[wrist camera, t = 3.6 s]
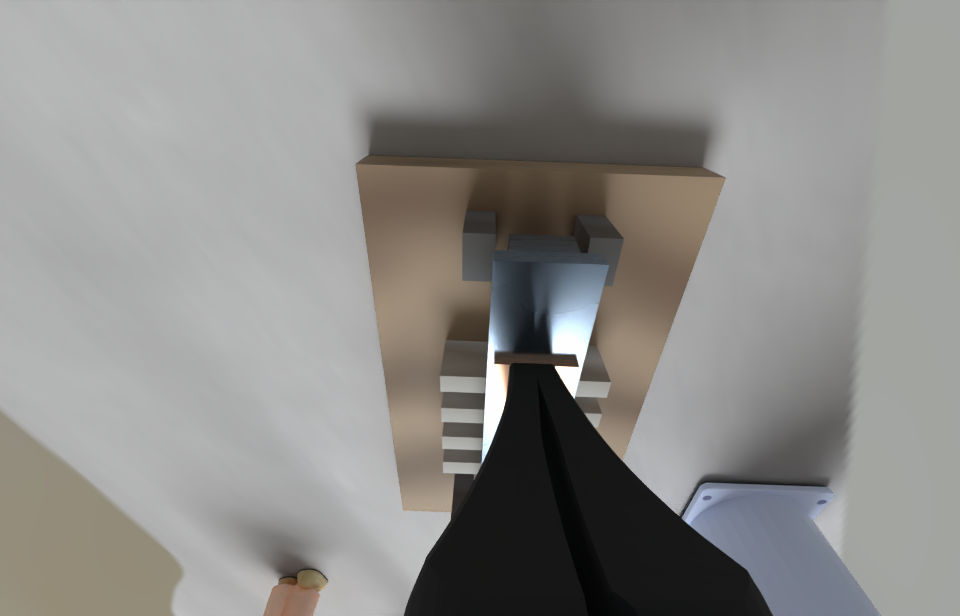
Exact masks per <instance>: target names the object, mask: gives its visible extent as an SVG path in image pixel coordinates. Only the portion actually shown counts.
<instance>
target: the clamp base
mask: <svg viewBox="0 0 960 616" xmlns="http://www.w3.org/2000/svg"><path fill="white" fill-rule="evenodd" d="M356 171H357V179H358V186H359V193H360V201H361V208H362V215H363V222H364V230H365V237H366V244H367V252H368V259H369V266H370V273H371V281H372V288H373V295H374V302H375V310H376V317H377V324H378V332H379V339H380V346H381V353H382V361H383V368H384V375H385V383H386V390H387V397H388V404H389V412H390V419H391V426H392V433H393V441H394V448H395V455H396V463H397V470H398V477H399V484H400V492H401V499H402V506H403V511H430V512H451V520H452V518H453V516H454V514H455V513H456V511H457V509H458V508H459V506H460V504H461V503H462V501H463V499H464V498H465V496H466V494H467V492H468V490H469V489H470V487H471V485H472V483H473V481H474V479H475V477H476V475H477V473H478V471H479V469H480V467H481V459H482V441H483V423H484V405H485V387H486V369H487V351H488V333H489V315H490V297H491V279H492V261H493V250H508V238H509V234H528V235H555V236H574V237H575V240H576V242H577V245H578V247H579V249H580V252H581V253H590V254H604V256H605V258H606V260H607V262H608V264H609V268H608V271H607V275H606V279H605V283H604V287H603V291H602V294H601V298H600V302H599V306H598V310H597V313H596V317H595V321H594V325H593V329H592V333H591V336H590V340H589V344H588V348H587V352H586V355H585V359H584V363H583V367H582V371H581V375H580V378H579V382H578V386H577V390H576V394H575V397H574V399H575V401H576V402H577V404H578V405H579V407H580V408H581V409H582V411H583V412H584V414H585V415H586V416H587V418H588V419H589V421H590V422H591V423H592V425H593V426H594V427H595V429H596V430H597V431H598V432H599V434H600V435H601V436H602V438H603V439H604V440H605V441H606V443H607V444H608V445H609V446H610V447H611V449H612V450H613V451H614V452H615V453H616V454H617V456H618V457H619V458H620V459H621V460H623V457H624V454H625V452H626V449H627V446H628V444H629V441H630V438H631V435H632V433H633V430H634V427H635V424H636V422H637V419H638V416H639V413H640V411H641V408H642V405H643V403H644V400H645V397H646V394H647V392H648V389H649V386H650V383H651V381H652V378H653V375H654V373H655V370H656V367H657V364H658V362H659V359H660V356H661V353H662V351H663V348H664V345H665V343H666V340H667V337H668V334H669V332H670V329H671V326H672V323H673V321H674V318H675V315H676V312H677V310H678V307H679V304H680V302H681V299H682V296H683V293H684V291H685V288H686V285H687V282H688V280H689V277H690V274H691V272H692V269H693V266H694V263H695V261H696V258H697V255H698V252H699V250H700V247H701V244H702V241H703V239H704V236H705V233H706V231H707V228H708V225H709V222H710V220H711V217H712V214H713V211H714V209H715V206H716V203H717V201H718V198H719V195H720V192H721V190H722V187H723V184H724V181H725V179H726V178H725V177H723V176H721V175H719V174H716V173H714V172H712V171H710V170H708V169H706V168H700V167H673V166H646V165H619V164H592V163H565V162H537V161H510V160H483V159H456V158H429V157H402V156H375V155H368V156H366V157H365V158H363V159H362V160H361V161H359V162H358V163H356Z"/></svg>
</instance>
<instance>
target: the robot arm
mask: <svg viewBox="0 0 960 616" xmlns="http://www.w3.org/2000/svg"><path fill="white" fill-rule="evenodd" d="M834 496H835V495H834V493H833V491H832V490H831V489H830V488H828V487H813V486H786V485H759V484H732V483H704V484H702V485H701V486H700V487H699V489H698V490H697V492H696V494H695V496H694V497H693V499H692V501H691V503H690V504H689V506H688V508H687V510H686V511H685V513H684V515H683V517H682V518H680V517H679V516H678V515H677V514H676V513H675V512H674V511H672V510H671V509H670V508H669V507H668V506H667V505H666V504H665V503H664V502H663V501H662V500H661V499H660V498H658V497H657V496H656V495H655V494H654V493H653V492H652V491H651V490H650V489H649V488H648V487H647V486H646V485H645V484H644V483H643V482H642V481H641V480H640V479H639V478H638V477H637V476H636V475H635V474H634V473H633V472H632V471H631V470H630V469H629V468H628V467H627V466H626V464H625V463H624V462H623V461H622V460H621V459H620V458H619V457H618V456H617V454H616V453H615V452H614V451H613V450H612V449H611V447H610V446H609V445H608V444H607V443H606V441H605V440H604V439H603V438H602V436H601V435H600V434H599V432H598V431H597V430H596V429H595V427H594V426H593V425H592V423H591V422H590V421H589V419H588V418H587V416H586V415H585V414H584V412H583V411H582V409H581V408H580V407H579V405H578V404H577V402H576V401H575V399H574V398H573V396H572V395H571V393H570V391H569V390H568V388H567V387H566V385H565V383H564V382H563V380H562V378H561V377H560V375H559V373H558V371H557V370H556V368H555V367H554V365H553V364H535V363H512V365H510V366H509V376H508V386H507V396H506V401H505V404H504V408H503V412H502V415H501V418H500V421H499V424H498V426H497V429H496V432H495V435H494V438H493V440H492V442H491V445H490V447H489V450H488V452H487V454H486V456H485V459H484V461H483V463H482V465H481V467H480V469H479V471H478V473H477V475H476V477H475V479H474V481H473V483H472V485H471V487H470V489H469V490H468V492H467V494H466V496H465V498H464V499H463V501H462V503H461V504H460V506H459V508H458V509H457V511H456V513H455V514H454V516H453V518H452V520H451V521H450V523H449V524H448V526H447V527H446V529H445V530H444V532H443V533H442V535H441V536H440V538H439V539H438V541H437V542H436V544H435V545H434V547H433V548H432V550H431V551H430V552H429V554H428V556H427V557H426V559H425V562H424V565H423V567H422V569H421V571H420V573H419V576H418V578H417V580H416V583H415V585H414V587H413V590H412V592H411V595H410V598H409V600H408V603H407V606H406V610H405V613H404V616H881V615H880V613H879V612H878V610H877V609H876V608H875V606H874V605H873V603H872V602H871V601H870V599H869V598H868V596H867V595H866V594H865V592H864V591H863V590H862V588H861V587H860V585H859V584H858V583H857V581H856V580H855V578H854V577H853V576H852V574H851V573H850V571H849V570H848V569H847V567H846V566H845V564H844V563H843V562H842V560H841V559H840V557H839V556H838V555H837V553H836V552H835V551H834V549H833V548H832V546H831V545H830V544H829V542H828V541H827V539H826V538H825V537H824V535H823V534H822V532H821V531H820V530H819V528H818V527H817V525H816V524H815V523H814V521H813V520H814V519H815V517H816V516H817V515H818V514H819V513H820V512H821V511H822V510H823V509H824V508H825V506H826V505H827V504H828V503H829V502H830V501H831V500H832V499H833V498H834Z"/></svg>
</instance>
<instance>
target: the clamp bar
mask: <svg viewBox="0 0 960 616" xmlns="http://www.w3.org/2000/svg"><path fill="white" fill-rule="evenodd" d="M608 268H609V264H608V262H607V260H606V258H605V256H604V254H590V253H581V252H580V249H579V247H578V245H577V242H576V240H575V237H574V236H555V235H528V234H509V238H508V250H493V261H492V279H491V297H490V315H489V333H488V351H487V369H486V387H485V405H484V423H483V441H482V459H481V465H482V463H483V461H484V459H485V456H486V454H487V452H488V450H489V447H490V445H491V442H492V440H493V438H494V435H495V432H496V429H497V426H498V424H499V421H500V418H501V415H502V412H503V408H504V404H505V401H506V396H507V386H508V376H509V366H510V365H512V363H535V364H553V365H554V367H555V368H556V370H557V371H558V373H559V375H560V377H561V378H562V380H563V382H564V383H565V385H566V387H567V388H568V390H569V391H570V393H571V395H572V396H573V398H574V397H575V394H576V390H577V386H578V382H579V378H580V375H581V371H582V367H583V363H584V359H585V355H586V352H587V348H588V344H589V340H590V336H591V333H592V329H593V325H594V321H595V317H596V313H597V310H598V306H599V302H600V298H601V294H602V291H603V287H604V283H605V279H606V275H607V271H608Z"/></svg>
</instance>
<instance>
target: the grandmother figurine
mask: <svg viewBox="0 0 960 616" xmlns="http://www.w3.org/2000/svg"><path fill="white" fill-rule="evenodd" d="M327 583H328V581H327V580H326V579H325V578H324V577H323V575H322V574H321V573H319V572H317V571H315V570H302V571H300V572H299V573H298V574H297V579H295V578H290V577H287V578H283V579H281V580H279V583H278V585H277V586H274V587H273V589H272V591H271V594H270V597H269V600H268V602H267V606H266V609H265V612H264V616H313V613H314V611H315V608H316V605H317V602H318V600H319V597H320V595H319V593H318V591H320V590H322V589H323V588H324V587H325V586H326V585H327Z"/></svg>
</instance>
